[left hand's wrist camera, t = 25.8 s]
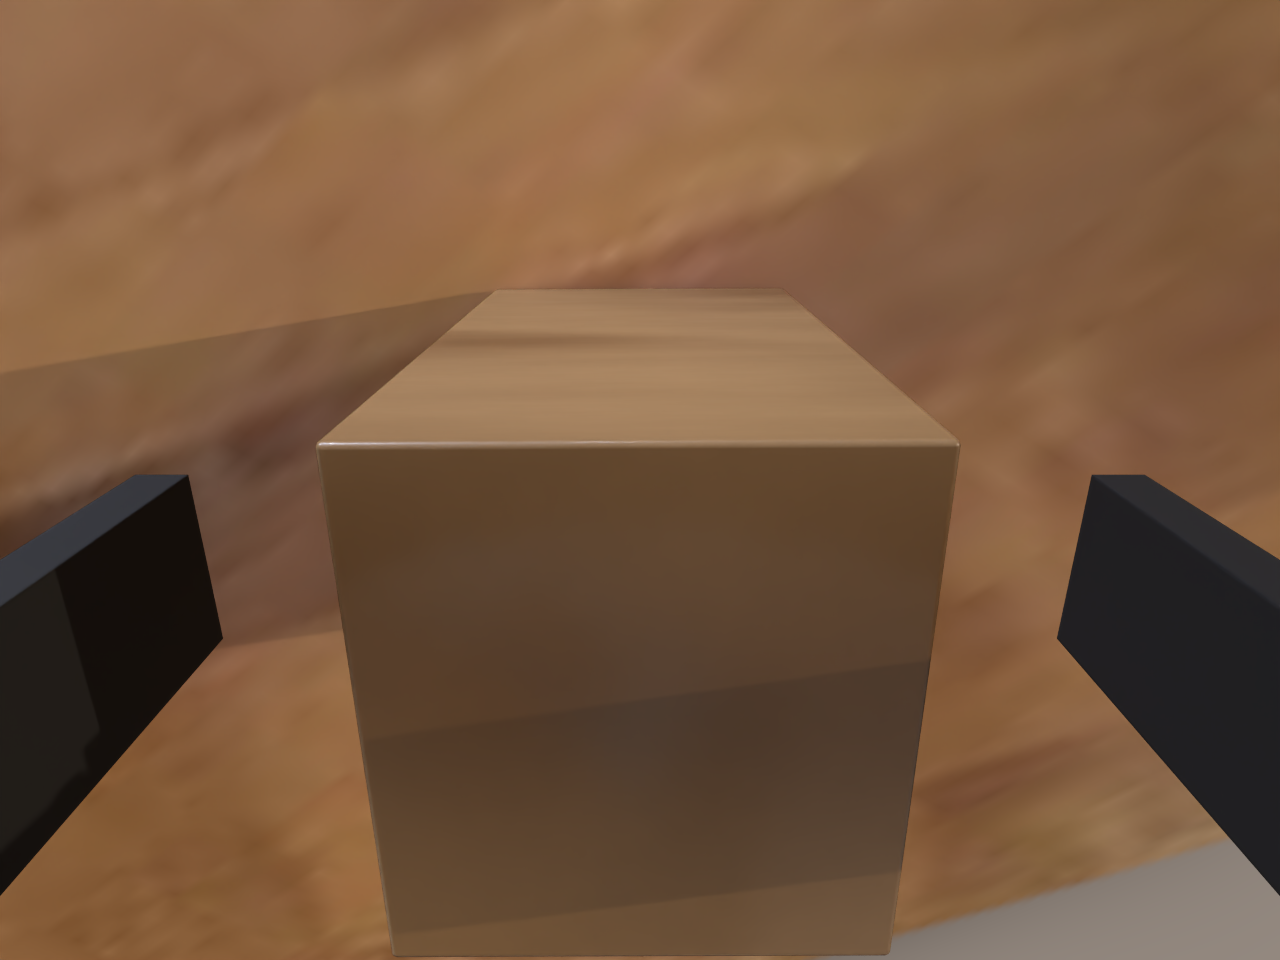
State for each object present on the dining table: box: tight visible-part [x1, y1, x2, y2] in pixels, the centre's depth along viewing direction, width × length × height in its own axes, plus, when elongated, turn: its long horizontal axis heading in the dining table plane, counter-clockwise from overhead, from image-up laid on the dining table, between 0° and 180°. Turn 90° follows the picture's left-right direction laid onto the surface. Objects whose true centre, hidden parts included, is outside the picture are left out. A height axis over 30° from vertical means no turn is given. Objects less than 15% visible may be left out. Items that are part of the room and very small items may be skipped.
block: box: [316, 288, 960, 957], centre depth 14 cm, size 6×6×10 cm
